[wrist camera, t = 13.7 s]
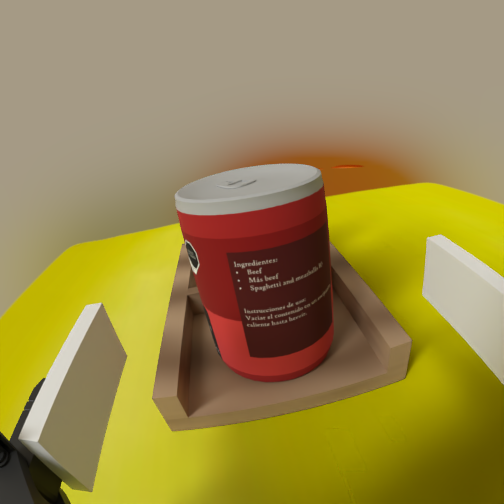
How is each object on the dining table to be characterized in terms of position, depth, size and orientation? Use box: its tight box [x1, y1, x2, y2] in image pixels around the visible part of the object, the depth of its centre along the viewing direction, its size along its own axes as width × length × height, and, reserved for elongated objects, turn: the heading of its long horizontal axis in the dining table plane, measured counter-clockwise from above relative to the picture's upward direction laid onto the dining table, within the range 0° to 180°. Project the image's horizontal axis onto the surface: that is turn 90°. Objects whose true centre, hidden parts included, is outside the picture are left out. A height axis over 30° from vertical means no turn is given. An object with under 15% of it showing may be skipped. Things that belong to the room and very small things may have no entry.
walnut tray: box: [152, 241, 412, 431], centre depth 26 cm, size 22×14×3 cm, turn 7°
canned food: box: [175, 164, 334, 382], centre depth 19 cm, size 8×8×11 cm
